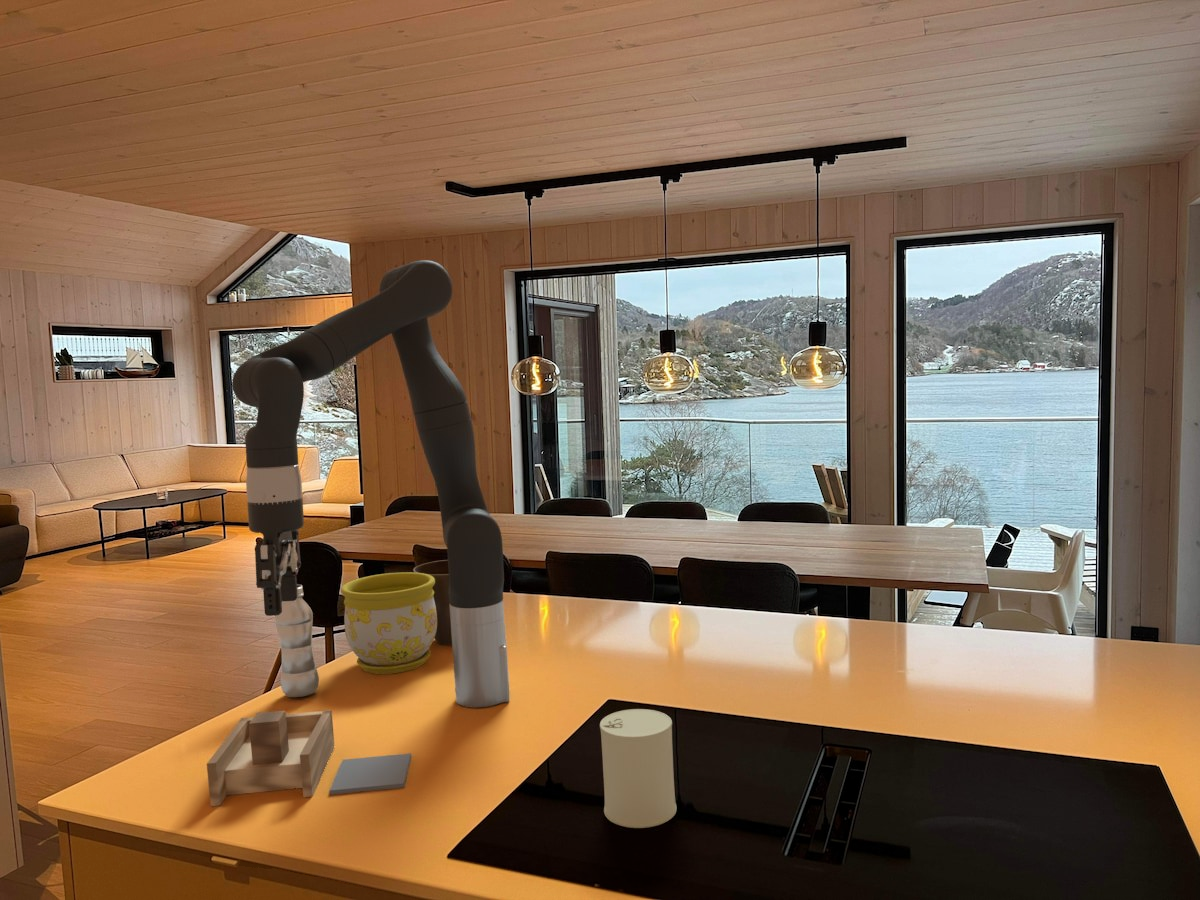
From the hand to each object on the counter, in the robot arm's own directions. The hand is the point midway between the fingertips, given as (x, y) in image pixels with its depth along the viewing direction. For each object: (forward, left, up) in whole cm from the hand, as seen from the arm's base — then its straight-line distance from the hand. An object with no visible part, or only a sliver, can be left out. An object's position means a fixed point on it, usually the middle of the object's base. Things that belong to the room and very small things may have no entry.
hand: (281, 607), depth 133 cm
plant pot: (-20, -58, -24) cm, 66 cm away
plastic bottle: (+6, -31, -24) cm, 40 cm away
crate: (+2, +3, -24) cm, 24 cm away
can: (-48, +24, -24) cm, 59 cm away
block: (+2, +5, -20) cm, 21 cm away
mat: (-12, +6, -24) cm, 27 cm away
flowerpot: (-9, -45, -24) cm, 52 cm away
